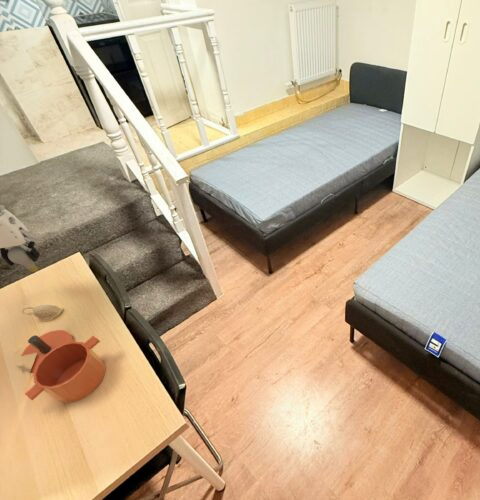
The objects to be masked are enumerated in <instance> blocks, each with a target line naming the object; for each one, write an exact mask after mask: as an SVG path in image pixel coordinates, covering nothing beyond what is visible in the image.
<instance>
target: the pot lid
mask: <svg viewBox="0 0 480 500" xmlns="http://www.w3.org/2000/svg"><path fill="white" fill-rule="evenodd" d="M72 341H74V338H73V336H72V334H71V333H70V332H69V331H66V330H63V329H58V330H57V329H56V330H52V331H49V332H45V333H44V334H41V335H36V334H35V335H32V336H30V337H29V338H28V340H27V343H28V345H27V346H26V348H25V349H24V350H23V352H22V353H21V357H24V356H28V355H33V354H36V356H35V358H34V361H33V364H32V366H31V369H30V371H29V374H34V371H35V368H36V366H37V364H38V363H39V362H40V360H41V359H42V358H43V357H44V356H45V355H46V354H47V353H48V352H50V351H51V350H52V349H54V348H56V347H58V346H60V345H62V344H64V343H68V342H72Z"/></svg>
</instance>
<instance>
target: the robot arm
mask: <svg viewBox="0 0 480 500" xmlns="http://www.w3.org/2000/svg"><path fill="white" fill-rule="evenodd" d="M39 238H40V235H39V234H36V233H34V232H30V230H29V229H28V228H27V227H26V225H24V223H23V222H22V221H21V220H20V219H18V218H17V217H16V216H15V215H14V214H13V213H12V212H10V211H9V210H8V209H6V208H5V205H4V204H0V257H1V258H2V259H3V260H4V261H5V262H6V264H8V265H9V266H10V267H11V266H12V267H13V266H14V265H15V263H14V262H12V261H11V260H10V259H9V258H8V251H9V249H10V248H12V247H13V246H20V247H21V248H23V249H25V250H26V254H27V255H28V256H29V257H30V258H31V259H32V261H33V262H34V263H35V262H37V261H38V260H39V257H40V252H39V251H38V250H37V249H36V248H35V246H34V245H36V243H37V242H38V240H39Z"/></svg>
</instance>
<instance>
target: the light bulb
mask: <svg viewBox="0 0 480 500" xmlns="http://www.w3.org/2000/svg"><path fill="white" fill-rule="evenodd" d="M8 249H9V251H8V258H9V259H10V260H11V261H12V262H14V264H16V265H20V266H24V267H25V268H26V269H27V270H28V271H29V272H30V273H35V272H37V271H38V270H39V267H38V266H37V264H36V263H35V262H34V261H32V259H31V258H30V257H29V256H28V255H27V254H26V250H25V249H23V248H21V247H20V246H12V247H9V248H8Z"/></svg>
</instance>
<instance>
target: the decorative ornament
mask: <svg viewBox="0 0 480 500" xmlns="http://www.w3.org/2000/svg"><path fill="white" fill-rule="evenodd" d="M27 309H31V310H32V312H25V310H27ZM63 311H64V308H62V307H59V306H56V305H53V304H42V305H41V304H40V305H36V306H26V307H23V308H22V309H21V311H20V312H21V313H22V314H23V315H26V316H31V315H33V316H34V317H35V318H37V319H38V320H39V321H42V322H49V321H52V320H54V319H56V318H57V317H58V316H60V315H61V313H62V312H63Z"/></svg>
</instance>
